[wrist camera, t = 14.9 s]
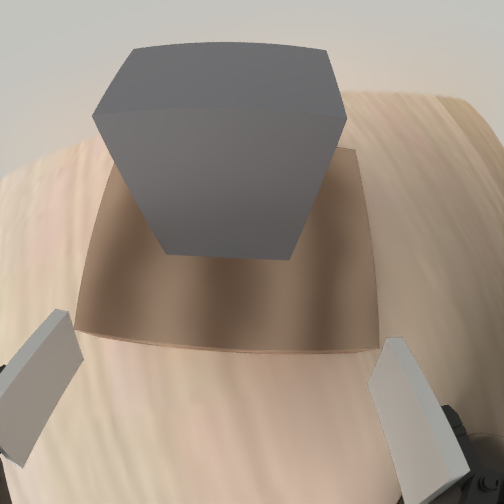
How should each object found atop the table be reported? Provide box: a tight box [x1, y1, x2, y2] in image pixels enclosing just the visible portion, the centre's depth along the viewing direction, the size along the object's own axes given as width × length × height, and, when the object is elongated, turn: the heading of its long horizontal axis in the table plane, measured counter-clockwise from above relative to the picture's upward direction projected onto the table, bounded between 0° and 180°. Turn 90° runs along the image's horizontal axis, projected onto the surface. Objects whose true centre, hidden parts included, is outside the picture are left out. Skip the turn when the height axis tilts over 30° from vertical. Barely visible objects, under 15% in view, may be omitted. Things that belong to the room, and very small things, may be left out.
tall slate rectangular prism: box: [92, 42, 347, 260], centre depth 14 cm, size 8×5×12 cm, turn 88°
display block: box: [74, 147, 379, 354], centre depth 22 cm, size 20×16×4 cm
